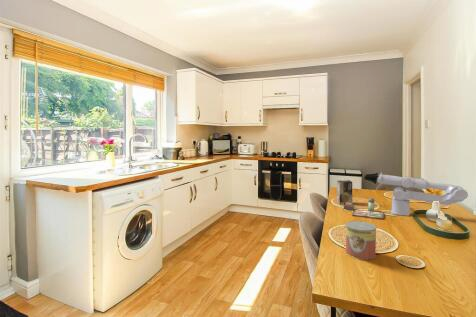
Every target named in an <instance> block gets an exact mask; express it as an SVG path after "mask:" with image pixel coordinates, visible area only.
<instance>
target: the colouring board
mask: <svg viewBox="0 0 476 317" xmlns="http://www.w3.org/2000/svg"><path fill="white" fill-rule="evenodd" d="M384 215H385V212H377V211H374V212H371V211H368V210H360V209H354V211H353V213H352V217H356V218H357V217H359V218H367V219H375V220H381V221H382V220H384Z"/></svg>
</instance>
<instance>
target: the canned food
mask: <svg viewBox="0 0 476 317" xmlns="http://www.w3.org/2000/svg"><path fill="white" fill-rule="evenodd" d="M345 227H346V228H345V253H346V252H347V253H348V254H349V255H351V256H353V257H355V258H354V259H356V258H358V259H357V260H361V259H366V260H365V261H369V260H368V259H371V260H373V258H374V259H375V258H376V255H377V254H376V247H377V246H376V243H377V242H376V241H377V240H376V238H377V226H376V225H374V224H373V223H370V222H367V221H362V220H361V221H359V220H352V221H347V222H346V223H345ZM349 255H348V256H349ZM351 256H350V257H351ZM353 257H352V258H353Z"/></svg>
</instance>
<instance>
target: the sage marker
mask: <svg viewBox="0 0 476 317" xmlns="http://www.w3.org/2000/svg"><path fill="white" fill-rule="evenodd" d="M367 201H368V204H367V205H368V206H367V207H368V210H367V211H371V212H375V198H371V197H370V198H368V200H367Z"/></svg>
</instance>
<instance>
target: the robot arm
mask: <svg viewBox="0 0 476 317" xmlns="http://www.w3.org/2000/svg"><path fill="white" fill-rule="evenodd" d="M363 179H364V180H365V181H368V182H371V183H373V184H375V185H377V183H378V184H379V185H380V184H382V185H391V186H396V187H395V188H393V190H392V193H393V194H392V196H393V197H392V198H391V210H390V214H391V215H398V216H406V217H409V216H410V213H411V209H410V208H411V204H410V202H411V200H413V201H414V200H415V201H418V202H419V201H420V202H426V203H431V204H432V203H433V201H439V203H440V204H439V205H444V206H447V205H448V206H450V205H453V204H456V203H462V202H463V201H465V200H466V199H467V198H468V196H469V194H468V192H467V190H466V189H464V188H463V187H461V186H459V185H453V184H448V183H441V182H431V181H430V182H429V181H428V180H426V179H424V178H422V177H421V178H415V177H409V176H402V177H401V176H398V175H397V176H396V175H389V174H383V172H380V174H379V172H376V173H366V174H365V175H364V178H363ZM397 186H398V187H397ZM403 187H404V188H403ZM410 188H413V189H418V190H419V189H420V190H426V189H434V190H439V191H440V190H441V191H445V192H446V193H445V194H444V195H440V194H434V193H426V192H420V191H413V190H409V189H410ZM433 204H434V203H433Z"/></svg>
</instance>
